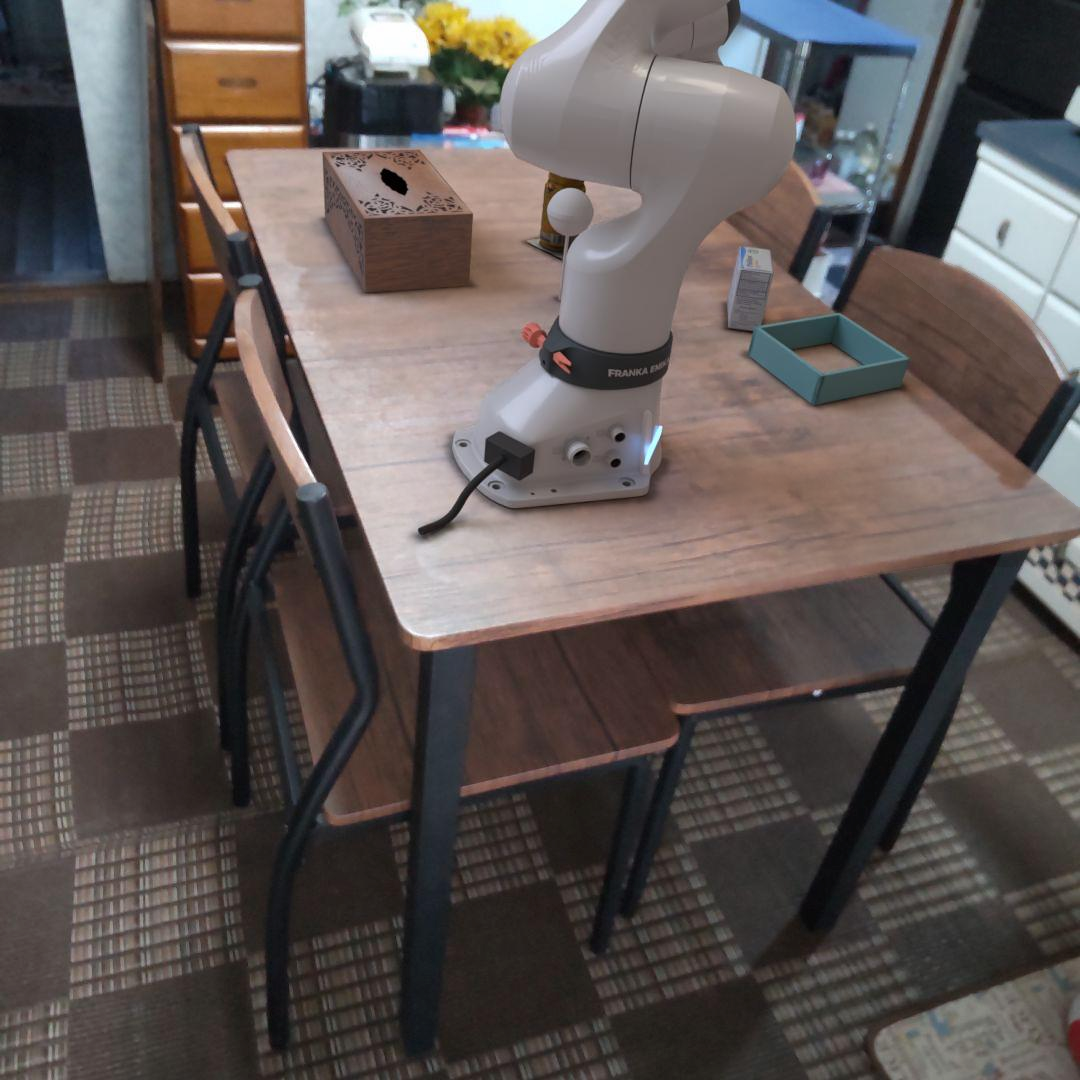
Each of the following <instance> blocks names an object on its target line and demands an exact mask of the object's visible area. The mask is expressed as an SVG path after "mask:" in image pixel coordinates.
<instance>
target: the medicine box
mask: <svg viewBox="0 0 1080 1080" xmlns="http://www.w3.org/2000/svg"><path fill="white" fill-rule="evenodd" d="M773 265H774V264H773V259H772V251H771V250H770V249H766V248H759V247H754V246H753V247H751V246H739V248H738V251H737V254H736V259H735V263H734V269H733V274H732V278H731V283H730V288H729V292H728V296H727V301H726V302H727V303H726V309H727V328H728V329H733V330H740V331H747V332H753V330H754V327H756V326H762V324H763V321H764V317H765V312H766V307H767V303H768V299H769V294H770V291H771V286H772V282H773V278H774V266H773Z"/></svg>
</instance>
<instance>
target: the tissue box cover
mask: <svg viewBox="0 0 1080 1080" xmlns="http://www.w3.org/2000/svg"><path fill="white" fill-rule="evenodd" d="M321 153H322V154H321V155H322V178H323V202H324V203H323V205H324V220H325V222H326V224H327V226H328V228H329V230H330V231H331V233H332V235H333V237H334V239H335V241H336V242H337V244H338V246H339V248H340V250H341V251H342V253H343V255H344V257H345V259H346V261H347V262H348V264H349V266H350V268H351V270H352V272H353V273H354V275H355V277H356V279H357V281H358V282H359V284H360V286H361V288H362V290H363V292H364V293H365V294H370V293H372V294H373V293H382V292H383V293H384V292H386V293H387V292H398V291H415V290H426V289H441V288H454V287H468V286H470V281H471V260H472V243H473V226H474V213H473V212H472V210H471V209H470V207H468V205H466V203H465V202H464V201H463V199H461V197H460V196H459V195H458V194H457V193H456V191H455V190H454V189H453V187H452V186H451V185H450V184H449V183H448V182H447V181H446V179H445V178H444V177H443V175H441V173H440V172H439V171H438V170H437V169H436V167H435V166H434V165H433V164H432V163H431V161H430V160H429V159H428V158H427V157H426V156H425V154H424V153H423V152H422V151H421V150H420V149H387V150H386V149H384V150H383V149H382V150H380V149H379V150H341V151H340V150H338V151H322V152H321Z"/></svg>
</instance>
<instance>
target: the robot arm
mask: <svg viewBox="0 0 1080 1080" xmlns="http://www.w3.org/2000/svg"><path fill="white" fill-rule="evenodd" d="M741 15H742V9H741V3H740V0H586V1H585V2H584V4H582V6H581V7H580V8H579V9H578V10H577V12H575V14H574V15H573V16H572V17H571V18H570V19H569V20H568V21H567V22H566V23H564V24H563V25H561V27H560V28H559V29H557V30H556V31H554V32H553V33H551V34H550V35H548V36H547V37H545V38H543V39H541V40H539V41H537V42H536V43H534V44H532V45H530V46H529V47H528V48H526V49H525V50H524V51H523V52H522V53H521V54H520V55H519V56H518V57H517V58H516V60H515V61H514V62H513V64H512V66H511V67H510V69H509V70H508V72H507V75H506V77H505V79H504V81H503V84H502V87H501V88H502V89H501V94H500V99H499V119H500V125H501V129H502V133H503V136H504V138H505V141H506V144H507V145H508V147H509V149H510V151H511V152H512V154H513V155H514V157H516V158H517V159H518V160H520V161H523V162H525V163H527V164H529V165H532V166H534V167H536V168H538V169H540V170H544V171H545V172H548V173H549V172H551V173H554V174H556V175H559V176H561V177H566V178H571V179H577V180H582V181H584V182H588V183H593V184H594V183H595V184H599V185H605V186H610V187H616V188H621V189H627V190H631V191H632V192H636V193H637V194H639V196H640V198H641V202H640V206H639V207H638V208H636V209H634V210H633V211H630V212H629V213H627V214H623V215H621V216H617V217H613V218H610V219H606V220H604V221H600V222H597V223H596V224H594V225H591V226H588V228H587V229H586V230H585V231H583V232H582V233H580V234H579V235H578V236H577V238H576V239H575V240H574V241H573V243H572V244H571V246H570V248H569V250H568V253H567V256H566V263H565V271H564V280H563V289H562V298H561V300H560V307H559V314H558V315H557V316H556V318H555V320H554V321H553V323H552V325H551V327H550V328H549V331H548V333H547V332H546V331H545V330H544V329H542V328H541V327H540V325H539V324H538V323H537V322H535V321H530V322H528V323H526V324H525V325H524V327H522V331H521V338H522V339H523V340H524V341H525V342H527V343H528V345H529V346H530V347H531V348H533V349H538V348H540V349H539V352H538V355H537V356H535V357H534V358H532V359H531V360H530V361H529V362H527V363H526V364H524V365H523V366H522V367H520V368H519V369H518V370H517V371H515V372H514V373H513V374H511V375H510V376H509V377H507V378H506V379H504V380H503V381H502V382H500V383H499V384H498V385H496V386H495V387H494V388H492V389H490V390H489V391H488V392H487V393H486V394H485V396H484V397H483V398H482V401H481V403H480V405H479V406H480V407H479V409H478V412H477V417H476V420H475V423H474V424H471V425H470V424H469V425H468V426H464V427H462V428H459V429H457V430H456V431H455V432H454V435H453V438H452V440H453V441H452V444H451V445H452V447H451V450H452V454H453V457H454V460H455V462H456V464H457V466H458V467H459V469H460V470H461V472H462V473H463V475H464V476H465V477H466V479H468V481H469V482H468V483H467V485H466V486H465V487H464V488H463V490H462V491H461V492H460V494H459V496H458V498H457V499H456V501H455V503H454V504H453V506H452V507H451V509H450V510H449V511H448V512H447V513H446V514H445V515H443V516H442V517H441V518H440V519H438V520H435V521H432V522H430V523H428V524H425V525H423V526H420V527H418V528H417V533H418V534H419V536H423V537H424V536H425V535H427V534H430V533H432V532H435V531H438V530H440V529H442V528H445V527H446V526H447V525H449V524H450V523H451V522H452V521H454V520H455V519H456V518H457V517H458V515H459V514H460V512H461V511H462V509H463V508H464V506H465V504H466V503H467V501H468V500H469V498H470V496H471V494H473V493H474V491H475V490H476V489H477V490H478V491H479V492H480V493H482V494H483V495H484V496H486V497H487V498H488V499H490V500H492V501H494V502H495V503H497V504H499V505H501V506H503V507H506V508H509V509H522V508H533V507H542V506H553V505H562V504H563V505H564V504H575V503H585V502H595V501H603V500H604V501H605V500H615V499H624V498H625V499H626V498H635V497H643V496H645V495H647V494H648V493H649V490H650V483H651V477H652V476H653V474H654V473H655V472H656V471H657V470H658V468H659V466H660V465H661V462H662V460H663V450H662V444H661V435H662V431H663V426H662V425H660V414H661V413H660V410H661V395H662V386H663V378H664V377H665V376H666V374H667V373H668V370H669V365H670V359H671V355H672V347H673V342H674V335H673V332H672V330H671V329H672V325H673V319H674V315H675V311H676V306H677V303H678V298H679V294H680V291H681V289H682V288H681V287H682V284H683V281H684V278H685V274H686V272H687V269H688V266H689V265H690V262H691V260H692V259H693V256H694V255H695V253H696V252H697V250H698V248H699V247H700V245H701V244H702V242H703V241H705V239H706V238H707V237H708V236H709V235H710V234H711V233H712V232H713V231H714V230H715V229H716V228H717V227H718V226H719V225H720V224H721V223H723V222H725V220H727V219H728V218H729V217H731V216H732V215H734V214H735V213H737V212H739V211H741V210H743V209H745V208H747V207H749V206H751V205H754V204H756V203H757V202H758V201H760V200H762V199H763V198H765V197H766V196H768V195H769V194H770V193H771V192H772V191H773V190H774V189H775V187H777V185H779V183H780V182H781V180H782V179H783V177H784V176H785V174H786V173H787V171H788V168H789V167H790V164H791V163H792V159H793V157H794V153H795V149H796V148H795V147H796V144H797V133H798V132H797V121H796V120H797V119H796V114H795V110H794V107H793V104H792V102H791V99H790V97H789V96H788V93H787V92H786V91H785V89H784V87H783V86H781V85H779V84H776V83H774V82H773V81H769V80H767V79H765V78H762V77H761V76H758V75H755V74H752V73H750V72H746V71H744V70H742V69H739V68H736V67H733V66H728V65H724V63H723V62H722V60H721V58H720V55H719V49H720V48H721V47H722V46H724V45H725V44H727V41H728V40H729V38H730V37H731V35H732V33H734V31H735V29H736V28H737V26H738V24H739V22H740V19H741Z"/></svg>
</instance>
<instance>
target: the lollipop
mask: <svg viewBox="0 0 1080 1080" xmlns="http://www.w3.org/2000/svg"><path fill="white" fill-rule="evenodd" d="M594 210H595V209H594V207H593V203H592V201H591V199H590V198H589V196H588V195H587V194H586V193H584V192H582V191H580V190H578V189H575V188H566V189H563V190H561V191H559V192H557V193H556V194H555V195H554V196H553V197H552V199H551V200H550V202H549V204H548V208H547V214H548V219H549V222H550V224H551V226H552V227H553V228H554V229H555V230H556V231H557V232H558V233H560V234H562V235H565V236H566V239H565V247H564V256H563V259H562V266H561V273H560V274H561V275H560V283H559V291H558V292H559V293H558V301H561V298H562V289H563V280H564V271H565V263H566V256H567V251H568V243H569V236H575V235H578V234H581V233H582V232H583V231H585V230H586V229H588V228H589V227H590V225H591V223H592V221H593V218H594V214H595V213H594V212H595V211H594Z"/></svg>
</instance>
